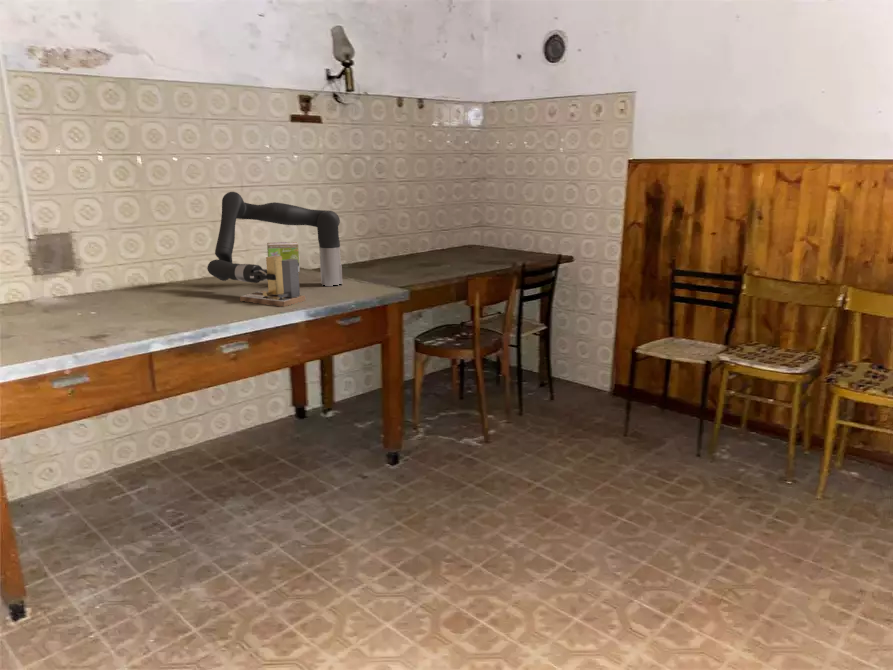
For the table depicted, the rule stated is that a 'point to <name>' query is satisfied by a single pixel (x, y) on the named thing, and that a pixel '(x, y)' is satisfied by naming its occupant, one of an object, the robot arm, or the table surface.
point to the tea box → (284, 250)
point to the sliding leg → (274, 268)
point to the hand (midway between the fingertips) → (280, 276)
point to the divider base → (269, 302)
